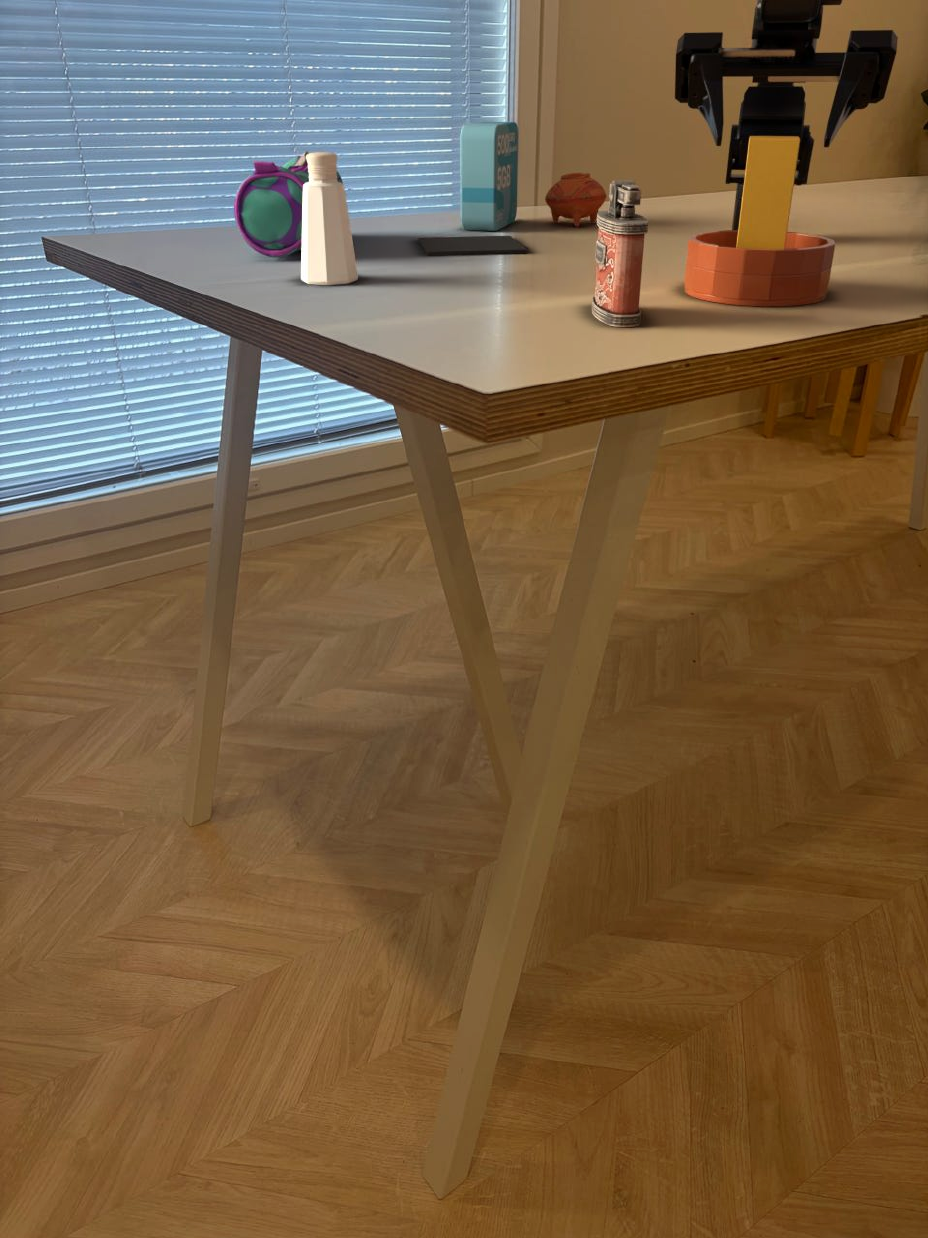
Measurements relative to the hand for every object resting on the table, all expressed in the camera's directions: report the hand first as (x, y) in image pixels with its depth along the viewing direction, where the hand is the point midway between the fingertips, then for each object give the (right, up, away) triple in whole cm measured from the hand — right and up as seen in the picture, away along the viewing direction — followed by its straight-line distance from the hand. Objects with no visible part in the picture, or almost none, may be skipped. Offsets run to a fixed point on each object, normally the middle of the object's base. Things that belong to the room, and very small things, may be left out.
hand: (772, 142), depth 88 cm
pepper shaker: (-40, -10, +7) cm, 42 cm away
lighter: (-15, -18, -7) cm, 24 cm away
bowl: (-1, -13, +1) cm, 13 cm away
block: (-1, -13, +1) cm, 13 cm away
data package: (-24, +9, +42) cm, 49 cm away
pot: (-13, +10, +43) cm, 46 cm away
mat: (-26, 0, +26) cm, 37 cm away
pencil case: (-46, 0, +26) cm, 53 cm away
